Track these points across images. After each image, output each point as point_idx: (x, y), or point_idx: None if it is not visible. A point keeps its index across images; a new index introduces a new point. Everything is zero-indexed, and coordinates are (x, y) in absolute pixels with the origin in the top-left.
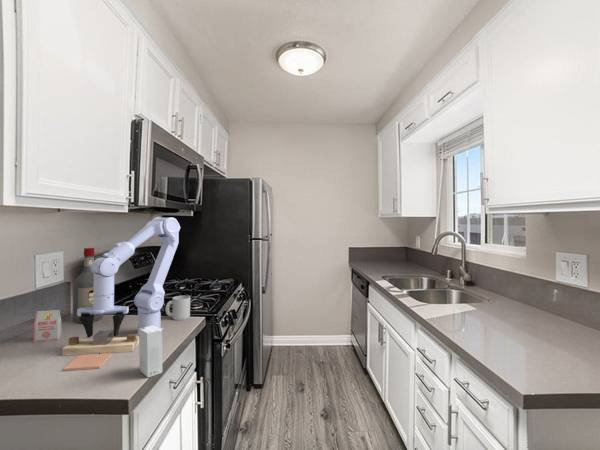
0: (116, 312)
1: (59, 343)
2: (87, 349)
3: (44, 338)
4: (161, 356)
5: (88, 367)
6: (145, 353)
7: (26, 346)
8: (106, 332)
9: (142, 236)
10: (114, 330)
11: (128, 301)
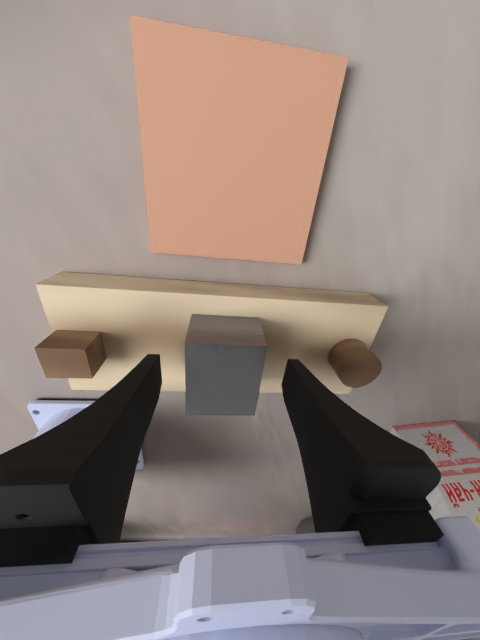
0: (64, 561)
1: (384, 402)
2: (276, 294)
3: (432, 431)
4: None
5: (203, 32)
6: None
7: (473, 394)
8: (207, 386)
9: None
10: (139, 374)
11: None
